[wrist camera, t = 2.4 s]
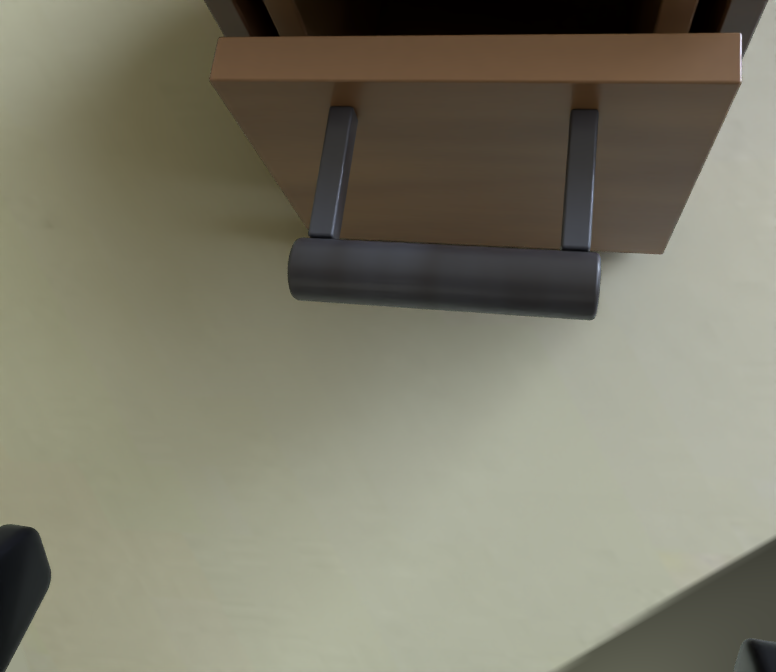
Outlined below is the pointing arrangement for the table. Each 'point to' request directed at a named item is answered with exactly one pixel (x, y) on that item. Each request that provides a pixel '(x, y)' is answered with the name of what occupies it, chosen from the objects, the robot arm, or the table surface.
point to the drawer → (478, 142)
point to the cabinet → (713, 15)
